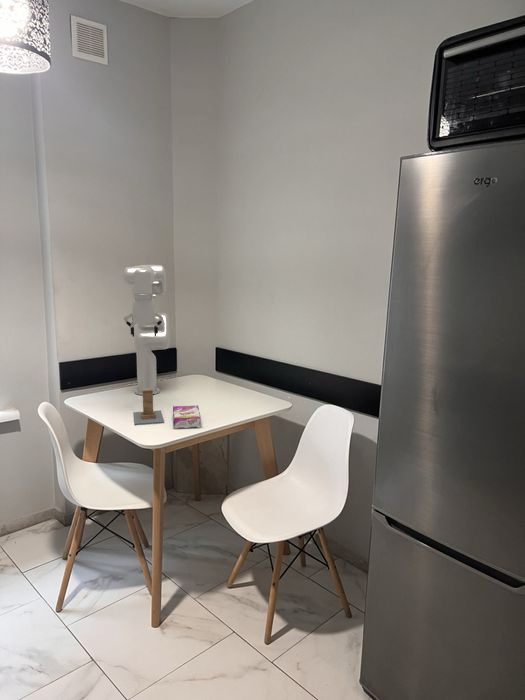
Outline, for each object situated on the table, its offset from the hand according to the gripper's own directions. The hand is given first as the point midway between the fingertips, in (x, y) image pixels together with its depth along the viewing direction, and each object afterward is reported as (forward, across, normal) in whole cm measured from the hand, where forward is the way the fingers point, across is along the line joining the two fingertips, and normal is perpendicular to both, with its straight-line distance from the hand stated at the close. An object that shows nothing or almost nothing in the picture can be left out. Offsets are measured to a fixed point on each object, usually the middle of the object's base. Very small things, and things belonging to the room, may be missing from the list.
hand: (144, 335), depth 227 cm
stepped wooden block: (+32, 0, +16) cm, 36 cm away
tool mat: (+33, 0, +16) cm, 37 cm away
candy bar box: (+31, -16, +17) cm, 38 cm away
